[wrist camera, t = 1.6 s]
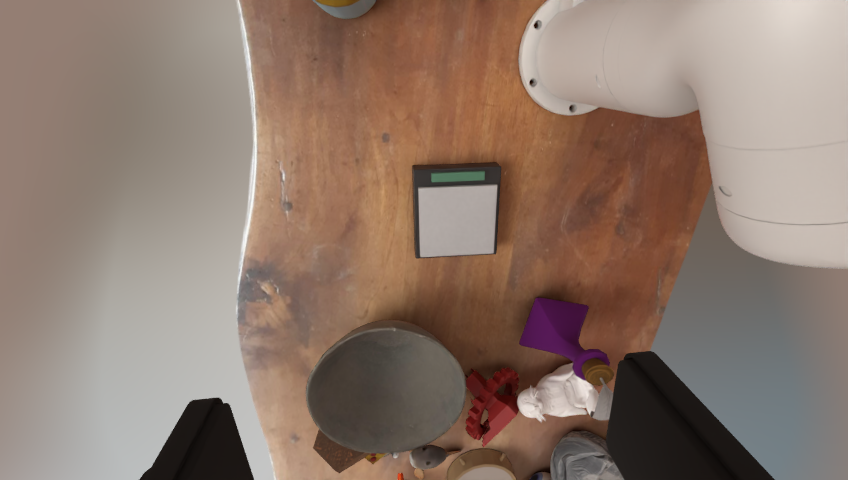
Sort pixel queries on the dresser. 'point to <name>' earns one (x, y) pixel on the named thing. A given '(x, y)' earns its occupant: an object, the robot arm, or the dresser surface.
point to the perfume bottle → (569, 345)
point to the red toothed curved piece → (491, 403)
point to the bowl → (386, 388)
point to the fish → (427, 458)
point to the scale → (456, 209)
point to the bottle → (346, 7)
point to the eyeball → (541, 476)
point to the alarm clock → (481, 466)
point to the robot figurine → (342, 453)
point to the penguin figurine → (558, 395)
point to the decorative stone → (583, 458)
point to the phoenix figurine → (400, 476)
